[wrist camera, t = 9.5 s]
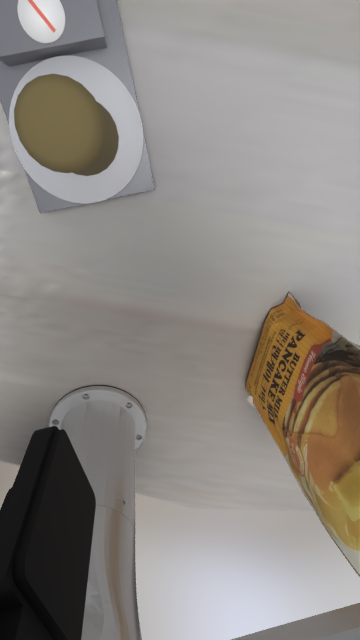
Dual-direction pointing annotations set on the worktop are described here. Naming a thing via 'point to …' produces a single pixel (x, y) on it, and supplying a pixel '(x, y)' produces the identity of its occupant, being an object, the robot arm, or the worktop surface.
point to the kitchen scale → (86, 68)
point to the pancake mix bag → (313, 414)
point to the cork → (65, 126)
